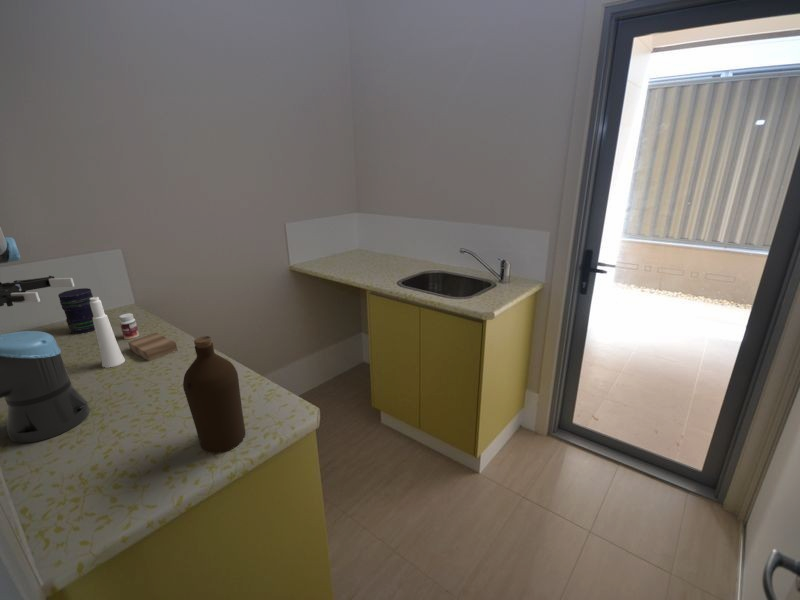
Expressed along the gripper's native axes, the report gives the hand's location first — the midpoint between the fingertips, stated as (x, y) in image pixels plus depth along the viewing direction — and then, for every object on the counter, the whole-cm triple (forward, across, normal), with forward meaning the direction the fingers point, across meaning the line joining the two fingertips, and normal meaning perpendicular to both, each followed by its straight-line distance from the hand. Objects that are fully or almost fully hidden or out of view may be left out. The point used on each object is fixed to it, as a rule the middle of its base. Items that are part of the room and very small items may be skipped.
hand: (56, 289), depth 116 cm
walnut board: (+19, -7, -25) cm, 32 cm away
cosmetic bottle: (+10, +1, -25) cm, 27 cm away
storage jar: (-18, -29, -26) cm, 43 cm away
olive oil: (+59, +41, -24) cm, 76 cm away
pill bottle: (+4, -20, -25) cm, 33 cm away
